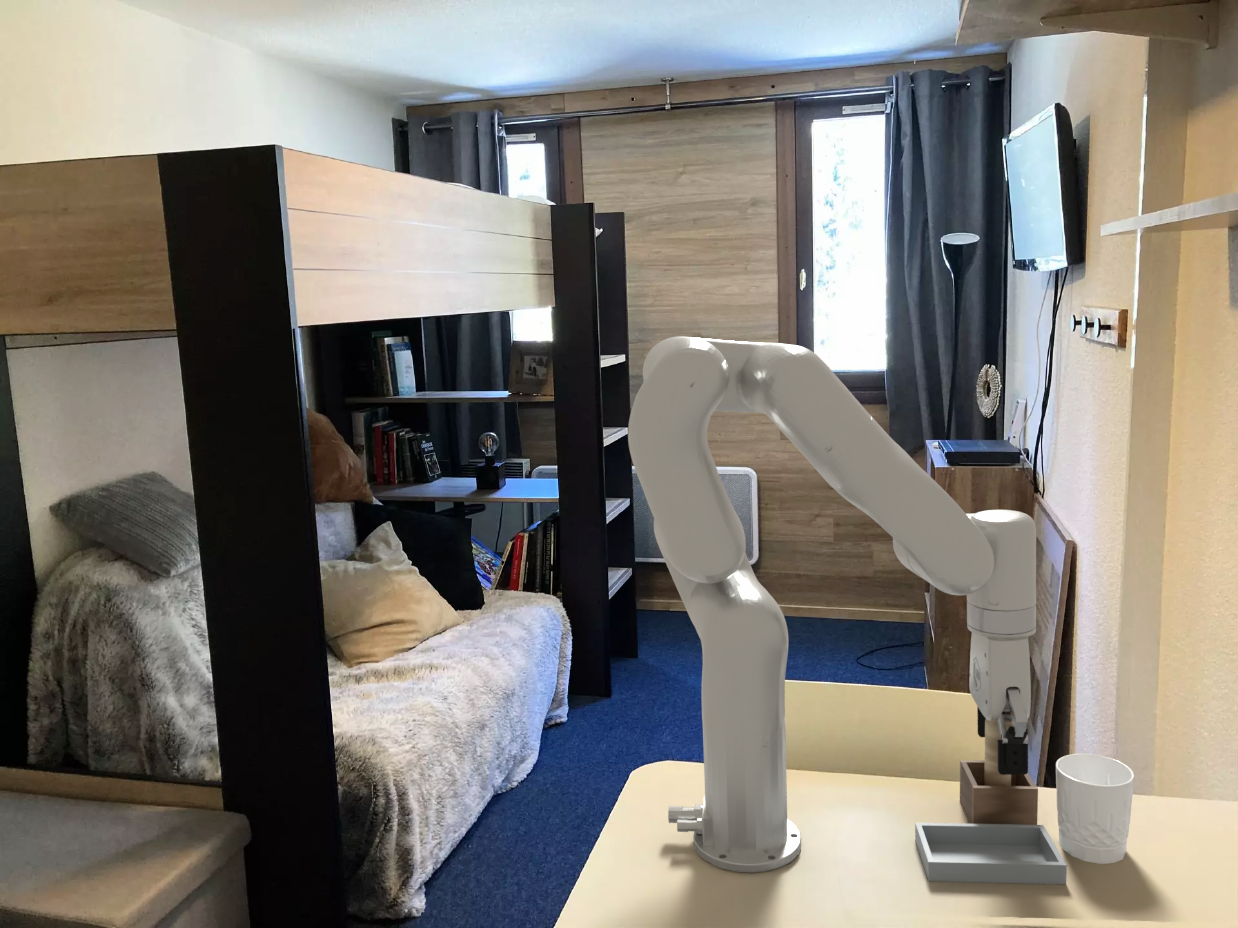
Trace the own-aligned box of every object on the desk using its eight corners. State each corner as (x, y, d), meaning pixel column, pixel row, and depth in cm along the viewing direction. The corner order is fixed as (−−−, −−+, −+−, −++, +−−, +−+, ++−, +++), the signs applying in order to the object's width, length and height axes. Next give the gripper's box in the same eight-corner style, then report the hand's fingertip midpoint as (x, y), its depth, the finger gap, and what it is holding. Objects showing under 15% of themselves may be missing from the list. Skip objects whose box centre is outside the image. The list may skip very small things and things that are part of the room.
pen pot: (973, 835, 116) (973, 787, 115) (959, 804, 123) (960, 759, 122) (1036, 836, 115) (1037, 788, 115) (1019, 805, 123) (1020, 760, 122)
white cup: (1140, 873, 107) (1143, 787, 106) (1062, 868, 109) (1064, 783, 107) (1119, 835, 115) (1122, 754, 113) (1047, 831, 117) (1048, 751, 115)
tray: (928, 885, 107) (928, 861, 107) (915, 844, 115) (915, 822, 115) (1066, 889, 105) (1066, 864, 105) (1042, 847, 113) (1043, 824, 113)
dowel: (987, 821, 118) (988, 727, 116) (981, 809, 121) (982, 716, 119) (1013, 822, 118) (1015, 727, 116) (1006, 809, 121) (1008, 716, 119)
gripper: (952, 595, 124) (953, 723, 127) (985, 642, 107) (986, 789, 110) (1014, 593, 123) (1014, 723, 126) (1058, 641, 106) (1057, 789, 109)
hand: (1001, 753), depth 118 cm, fingers open, 9 cm apart
